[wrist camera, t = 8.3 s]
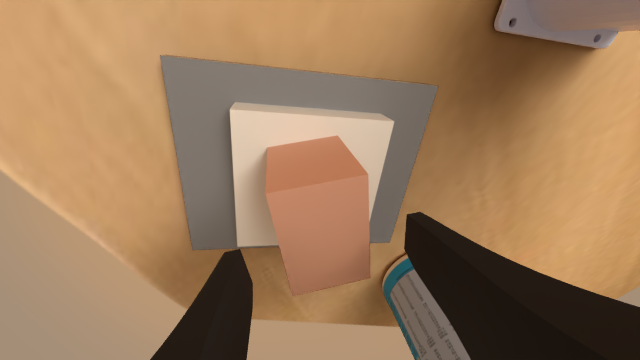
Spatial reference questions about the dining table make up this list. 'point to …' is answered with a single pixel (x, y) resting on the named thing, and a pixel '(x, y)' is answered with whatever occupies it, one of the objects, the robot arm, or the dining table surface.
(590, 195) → the dining table surface
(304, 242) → the brick
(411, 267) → the beverage bottle
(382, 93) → the tower base
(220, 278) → the robot arm
